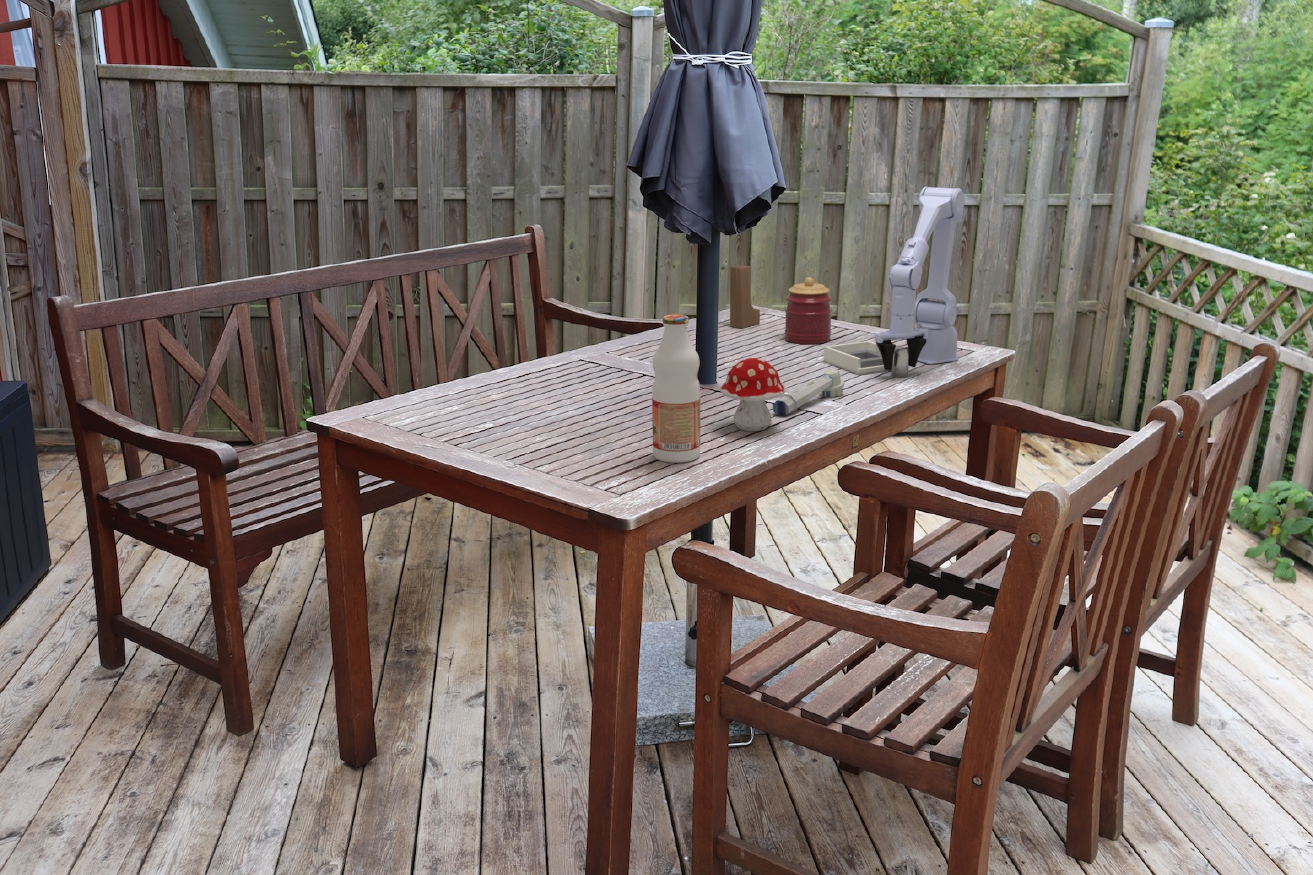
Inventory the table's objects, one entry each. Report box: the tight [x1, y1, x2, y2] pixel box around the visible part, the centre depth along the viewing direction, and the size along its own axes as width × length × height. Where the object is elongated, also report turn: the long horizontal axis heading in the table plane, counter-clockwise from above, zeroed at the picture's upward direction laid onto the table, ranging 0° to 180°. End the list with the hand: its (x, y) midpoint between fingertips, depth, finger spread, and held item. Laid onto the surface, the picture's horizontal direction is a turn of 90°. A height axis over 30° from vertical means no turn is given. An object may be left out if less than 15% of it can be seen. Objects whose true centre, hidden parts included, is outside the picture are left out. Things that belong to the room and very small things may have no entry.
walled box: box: [823, 340, 892, 376], centre depth 300 cm, size 14×16×4 cm
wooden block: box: [729, 264, 761, 329], centre depth 346 cm, size 9×4×18 cm, turn 137°
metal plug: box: [890, 345, 909, 379], centre depth 289 cm, size 4×4×7 cm
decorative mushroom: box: [719, 357, 787, 432], centre depth 248 cm, size 14×14×15 cm
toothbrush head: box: [772, 368, 845, 417], centre depth 267 cm, size 5×7×25 cm
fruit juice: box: [651, 313, 701, 464], centre depth 228 cm, size 9×9×28 cm
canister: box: [784, 276, 833, 345], centre depth 327 cm, size 13×13×18 cm
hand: (899, 368), depth 289 cm, fingers open, 7 cm apart
